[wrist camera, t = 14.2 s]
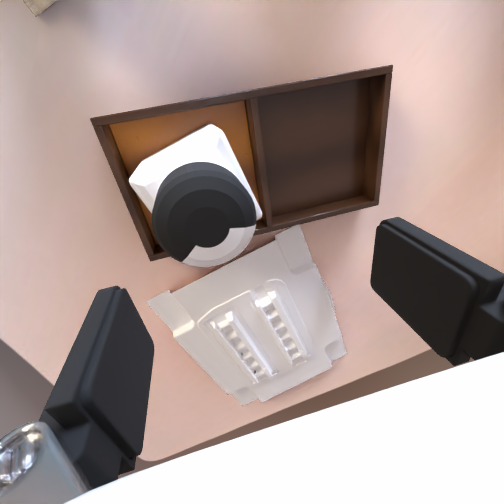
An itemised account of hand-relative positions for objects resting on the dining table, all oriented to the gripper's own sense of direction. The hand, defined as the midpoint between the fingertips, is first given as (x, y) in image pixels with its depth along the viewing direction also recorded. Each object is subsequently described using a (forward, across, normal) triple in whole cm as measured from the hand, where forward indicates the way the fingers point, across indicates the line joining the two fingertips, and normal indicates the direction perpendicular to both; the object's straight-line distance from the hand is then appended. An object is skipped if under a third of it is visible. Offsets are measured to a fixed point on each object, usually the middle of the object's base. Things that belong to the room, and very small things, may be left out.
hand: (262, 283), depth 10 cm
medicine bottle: (+18, +2, 0) cm, 18 cm away
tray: (+19, -2, +24) cm, 30 cm away
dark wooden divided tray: (+19, -4, 0) cm, 19 cm away
